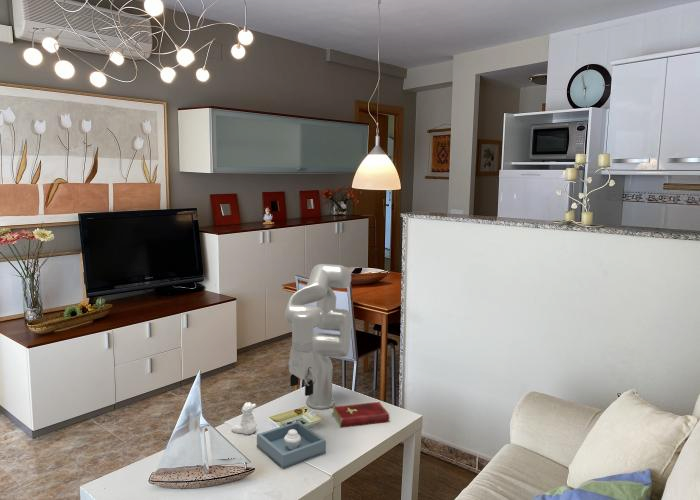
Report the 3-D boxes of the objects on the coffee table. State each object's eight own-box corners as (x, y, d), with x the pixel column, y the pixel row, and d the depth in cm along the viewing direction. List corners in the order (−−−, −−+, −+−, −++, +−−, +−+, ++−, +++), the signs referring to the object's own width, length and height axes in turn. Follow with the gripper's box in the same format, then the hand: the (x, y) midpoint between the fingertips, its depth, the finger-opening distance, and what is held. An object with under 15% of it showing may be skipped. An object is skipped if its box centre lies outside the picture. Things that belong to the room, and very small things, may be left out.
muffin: (292, 453, 191) (293, 435, 190) (280, 448, 194) (280, 430, 193) (304, 447, 196) (304, 429, 195) (291, 441, 199) (292, 424, 198)
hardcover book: (389, 423, 220) (389, 413, 220) (340, 428, 214) (340, 418, 213) (378, 410, 232) (379, 401, 231) (332, 415, 225) (332, 406, 224)
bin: (256, 447, 197) (257, 434, 196) (297, 433, 208) (298, 421, 207) (282, 469, 183) (283, 455, 182) (325, 453, 194) (325, 440, 193)
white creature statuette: (249, 423, 215) (249, 394, 213) (263, 430, 209) (264, 401, 208) (230, 431, 208) (230, 402, 206) (244, 439, 202) (244, 408, 200)
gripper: (280, 340, 198) (280, 384, 201) (306, 354, 184) (306, 401, 187) (298, 336, 202) (297, 379, 205) (324, 350, 189) (323, 396, 192)
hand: (301, 389), depth 196 cm, fingers open, 9 cm apart
